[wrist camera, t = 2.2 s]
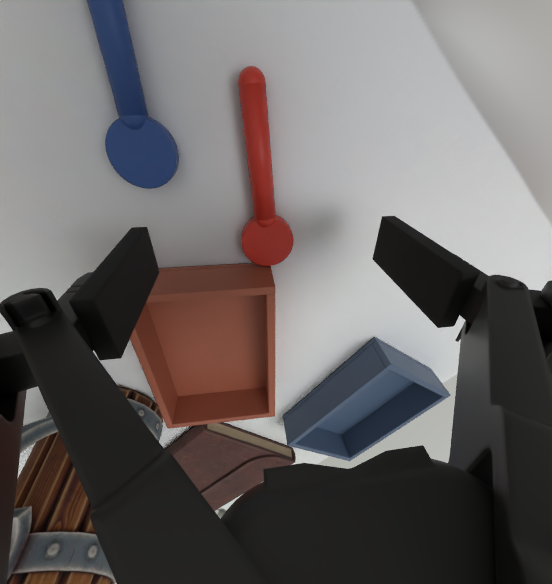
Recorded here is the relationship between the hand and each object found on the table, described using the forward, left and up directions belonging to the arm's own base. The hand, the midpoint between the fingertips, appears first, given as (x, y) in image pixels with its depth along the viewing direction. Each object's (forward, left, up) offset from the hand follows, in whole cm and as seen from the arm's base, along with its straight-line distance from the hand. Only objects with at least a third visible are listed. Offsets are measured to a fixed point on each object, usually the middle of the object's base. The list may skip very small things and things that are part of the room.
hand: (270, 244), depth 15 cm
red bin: (+5, +11, -4) cm, 13 cm away
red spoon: (0, -2, -4) cm, 5 cm away
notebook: (+9, +35, -4) cm, 36 cm away
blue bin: (-10, +21, -4) cm, 24 cm away
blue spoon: (+7, -8, -4) cm, 11 cm away
